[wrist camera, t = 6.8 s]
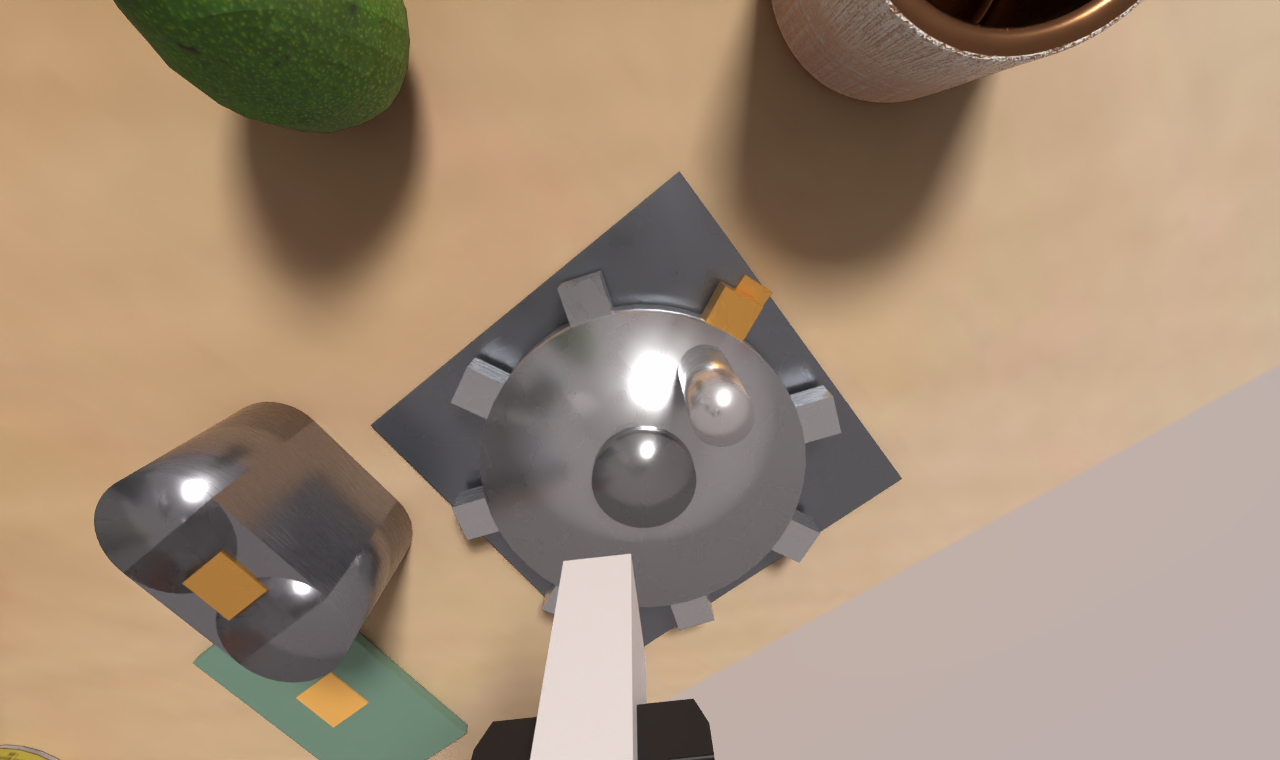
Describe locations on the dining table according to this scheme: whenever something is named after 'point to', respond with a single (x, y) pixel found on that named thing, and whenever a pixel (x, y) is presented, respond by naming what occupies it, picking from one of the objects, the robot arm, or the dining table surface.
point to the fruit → (284, 55)
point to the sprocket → (644, 447)
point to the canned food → (22, 753)
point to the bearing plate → (653, 275)
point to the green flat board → (346, 707)
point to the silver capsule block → (260, 539)
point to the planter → (931, 39)
